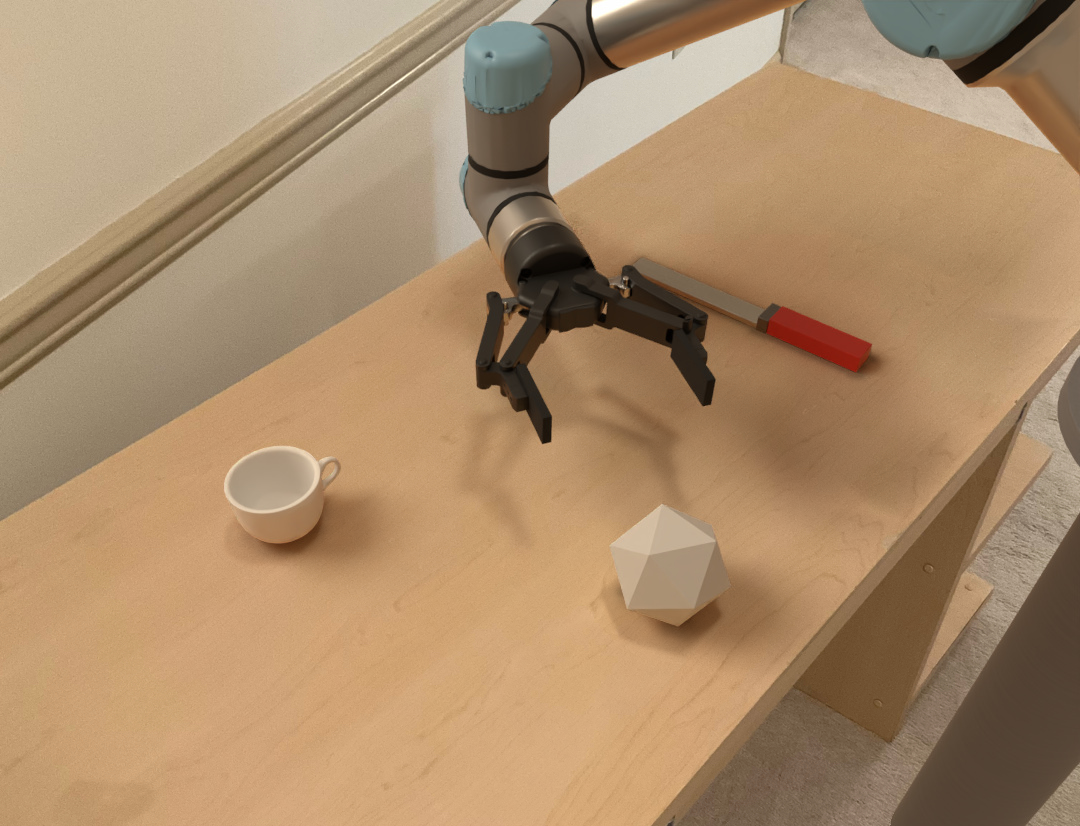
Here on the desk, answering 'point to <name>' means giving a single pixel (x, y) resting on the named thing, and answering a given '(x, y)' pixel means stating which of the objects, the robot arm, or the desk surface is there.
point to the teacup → (278, 492)
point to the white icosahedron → (669, 566)
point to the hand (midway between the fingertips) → (629, 411)
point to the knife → (765, 318)
